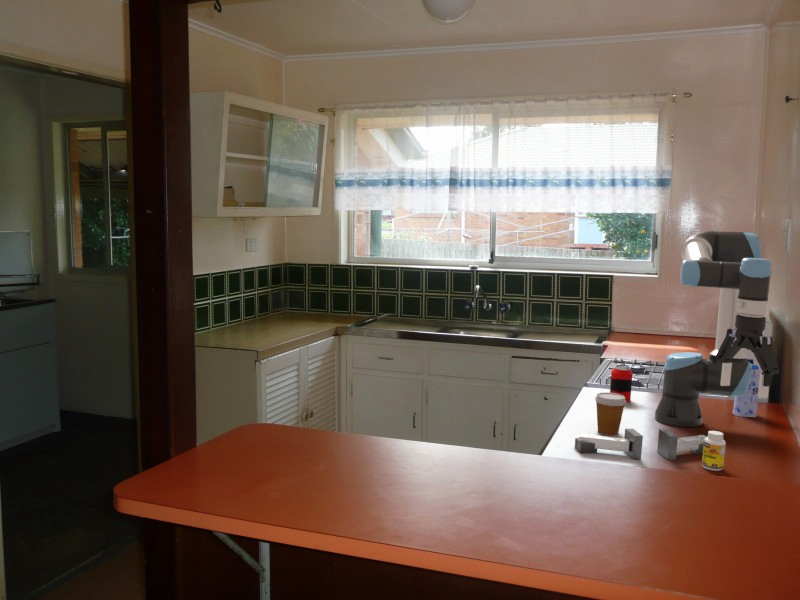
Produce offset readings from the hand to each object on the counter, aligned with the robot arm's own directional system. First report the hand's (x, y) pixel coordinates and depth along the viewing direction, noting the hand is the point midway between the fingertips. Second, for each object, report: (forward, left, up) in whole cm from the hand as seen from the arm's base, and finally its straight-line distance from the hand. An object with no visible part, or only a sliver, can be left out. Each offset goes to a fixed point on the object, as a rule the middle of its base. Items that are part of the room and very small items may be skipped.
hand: (743, 391), depth 212 cm
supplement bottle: (-1, -6, -23) cm, 23 cm away
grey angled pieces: (-13, -20, -22) cm, 33 cm away
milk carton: (-56, +35, -23) cm, 70 cm away
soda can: (-73, -4, -23) cm, 77 cm away
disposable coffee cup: (-33, -24, -23) cm, 47 cm away
